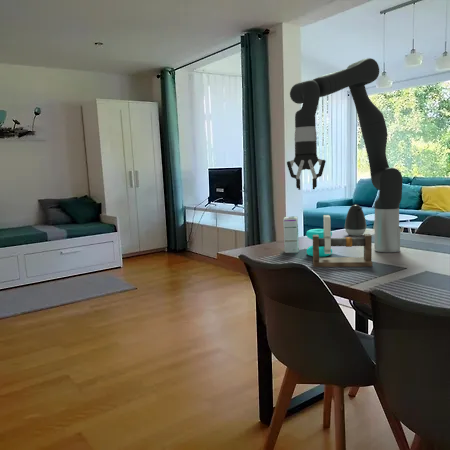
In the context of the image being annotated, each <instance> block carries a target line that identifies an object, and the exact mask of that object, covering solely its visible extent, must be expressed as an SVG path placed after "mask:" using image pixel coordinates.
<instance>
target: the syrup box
mask: <svg viewBox="0 0 450 450" xmlns="http://www.w3.org/2000/svg"><path fill="white" fill-rule="evenodd" d="M282 220H283V221H282V222H283V223H282V224H283V247H284V249H283V251H284V253H287V254H298V253H299V250H300V248H299V247H300V245H299V244H300V243H299V222H298V221H299V217H298V216H284V217H283V219H282Z"/></svg>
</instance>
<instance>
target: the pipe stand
mask: <svg viewBox="0 0 450 450" xmlns="http://www.w3.org/2000/svg"><path fill="white" fill-rule="evenodd" d="M372 239H373V237H372V234H370V233H364V234H363V237H353V236H347V237H346V236H345V237H331V247H345V248H348V247H349V248H350V247H351V248H352V247H363V256H362V257H359V256H358V257H356V256H355V257H354V256H353V257H349V256H347V257H345V256H344V257H319V247H325V238H319V235H313V240H312V246H313V256H312V265H313V267H314V268H317V267H318V268H319V267H321V268H322V267H323V268H324V267H325V268H326V267H327V268H328V267H331V268H333V267H335V268H337V267H338V268H339V267H340V268H341V267H345V268H346V267H351V268H352V267H356V268H357V267H360V268H361V267H363V268H364V267H373V263H374V262H373V261H372V259H373V258H372V255H373V254H372V246H373V245H372V243H373V242H372Z"/></svg>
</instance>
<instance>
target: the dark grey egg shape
mask: <svg viewBox="0 0 450 450" xmlns="http://www.w3.org/2000/svg"><path fill="white" fill-rule="evenodd" d="M344 229H345V232H346V233H347V235H349V236H350V237H360V236H362V235H363V236H364V234H365V233H366V229H367V220H366V217H365V213H364V211H363V207H362V206H360V205H359V204H353V205H350V207H349V209H348V211H347V213H346V218H345V223H344Z"/></svg>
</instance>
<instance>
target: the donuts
mask: <svg viewBox="0 0 450 450" xmlns="http://www.w3.org/2000/svg"><path fill="white" fill-rule="evenodd" d="M305 233H306V234H305V235H306V237H307V238H308V239H310V240H312V241H313V235H319V238H324V228H313V229H309V230H308V229H307V231H306V232H305ZM332 236H333V232H332V231H331V237H332ZM306 254H307V255H308V256H310V257H313V245H310V246H309V247H308V248H306ZM332 254H333V249H332V248H331V254H325V252H324V247H319V258H326V257H330V256H331V255H332Z"/></svg>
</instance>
